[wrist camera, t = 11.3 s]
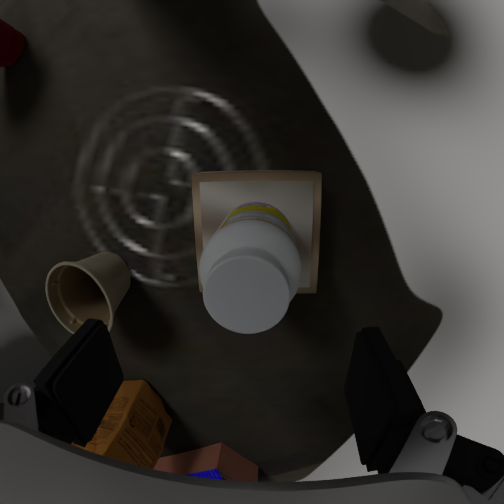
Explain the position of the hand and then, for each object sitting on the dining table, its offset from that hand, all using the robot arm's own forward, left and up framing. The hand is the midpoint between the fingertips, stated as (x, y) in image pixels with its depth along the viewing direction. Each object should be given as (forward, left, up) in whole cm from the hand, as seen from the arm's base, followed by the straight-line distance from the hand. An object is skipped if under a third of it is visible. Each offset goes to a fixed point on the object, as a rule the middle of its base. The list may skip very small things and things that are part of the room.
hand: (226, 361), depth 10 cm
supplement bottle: (0, 0, -19) cm, 19 cm away
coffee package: (+30, -20, -23) cm, 43 cm away
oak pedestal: (0, 0, -23) cm, 23 cm away
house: (+50, -11, -23) cm, 56 cm away
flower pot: (+6, -19, -23) cm, 30 cm away
